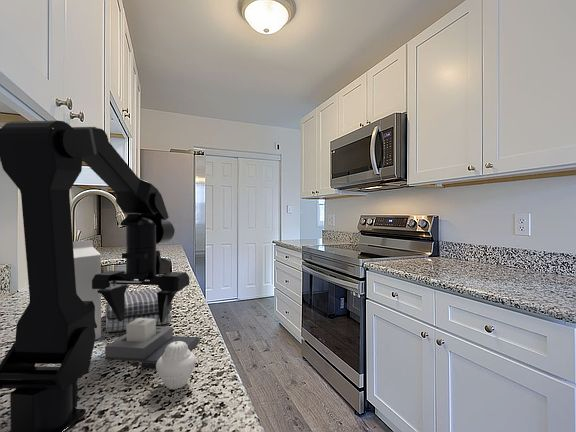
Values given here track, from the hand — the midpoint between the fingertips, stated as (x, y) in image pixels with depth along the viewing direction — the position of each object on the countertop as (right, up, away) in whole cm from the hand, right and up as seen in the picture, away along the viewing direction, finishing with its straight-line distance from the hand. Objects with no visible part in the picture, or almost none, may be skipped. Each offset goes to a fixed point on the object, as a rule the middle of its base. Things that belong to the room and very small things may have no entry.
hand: (141, 321), depth 64 cm
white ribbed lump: (+12, -6, -14) cm, 20 cm away
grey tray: (0, -5, 0) cm, 5 cm away
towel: (-9, -6, +17) cm, 21 cm away
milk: (-16, -6, +4) cm, 17 cm away
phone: (+8, -5, -3) cm, 10 cm away
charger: (0, -5, 0) cm, 5 cm away
